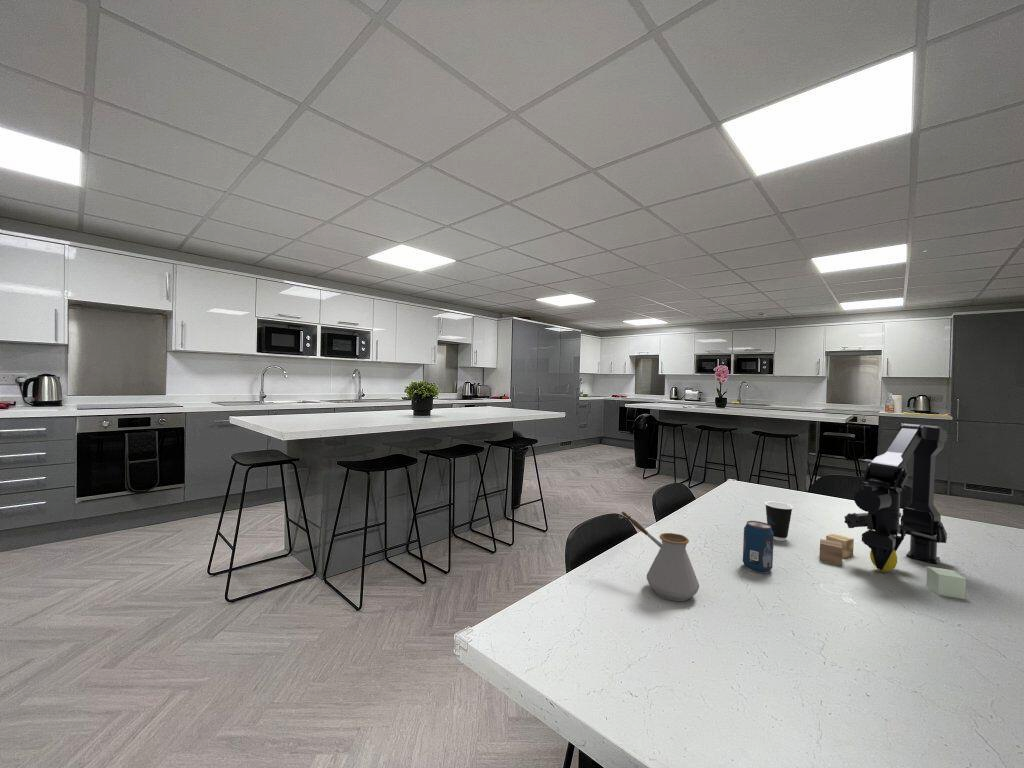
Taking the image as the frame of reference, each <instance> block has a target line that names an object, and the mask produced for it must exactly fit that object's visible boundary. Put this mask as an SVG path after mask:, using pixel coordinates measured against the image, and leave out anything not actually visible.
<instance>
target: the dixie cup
mask: <svg viewBox="0 0 1024 768" xmlns="http://www.w3.org/2000/svg"><path fill="white" fill-rule="evenodd" d="M764 505H765V514H766V516H765V517H766V523H767V524H769V525H771V529H772V531H773V533H774V539H773V541H774V540H776V541H780V542H785V541H787V538H788V536H789V531H790V530H789V529H790V524H791V523H790V522H791V517H792V512H793V508H794V506H792V504H788V503H785V502H779V501H772V500H771V501H765V502H764Z"/></svg>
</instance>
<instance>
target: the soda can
mask: <svg viewBox="0 0 1024 768" xmlns="http://www.w3.org/2000/svg"><path fill="white" fill-rule="evenodd" d="M742 542H743V544H742V545H743V547H742V548H743V549H742V562H743V565H744V567H745V568H746V569H747V570H750V571H752V572H755V573H758V574H768V573H770V572H771V570H772V569H773V565H774V563H773V562H774V533H773V531H772V529H771V525H769V524H767V522H763V521H757V520H747V521H746V524H745V526H744V527H743V541H742Z"/></svg>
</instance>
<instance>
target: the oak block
mask: <svg viewBox="0 0 1024 768" xmlns="http://www.w3.org/2000/svg"><path fill="white" fill-rule="evenodd" d="M825 540H829V541H834V542H839V543H842V558H845V559H846V558H848V557H849V558H850V557H852V556H854V546H855V545H854V541H855V538H852V537H849V536H845V535H842V534H838V533H830V534H827V535H825Z"/></svg>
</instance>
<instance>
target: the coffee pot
mask: <svg viewBox="0 0 1024 768" xmlns="http://www.w3.org/2000/svg"><path fill="white" fill-rule="evenodd" d="M621 515H622V516H621ZM620 516H621V517H620ZM618 517H620V519H622V518H624V517H625V518H626V520H627V521H630V523H631V524H632V525H633V526H634V527H635V528H636V529H638V530H639V531H640V532H641V533H643V534H644V535H645V536H647V537H648V538H649V539H650V540H651V541H652V542H654V543H655V544H656V546H658V547H659V548H660V549H659V550H658V552H657V554H656V556H655V557H654V560H653V562H652V564H651V566H650V567H649V570H648V571H647V573H646V580H647V582H648V584H649V586H650V587H651V589H653V590H654V592H655V594H657V595H658V596H660V597H662V598H663V599H666V600H670V601H674V602H685V601H688V600H689V599H690V598H692V597H693V596H695V595H696V594H697V593H698V591H699V588H700V584H699V581H698V578H697V575H696V572H695V570H694V568H693V565H692V562H691V560H690V558H689V554H688V551H687V550H686V548H687V544H689V543H690V539H688V537H686V536H685V535H682V534H678V533H672V532H664V533H661V534H660V535H659V539H660V540H661V542H660V541H659V540H658V539H657V538H655V537H654V536H653V535H652V534H650V532H649V531H648V530H646V529H645V528H644V527H643V526H642V525H641V524H640V523H639V522H638V521H636V520H635V519H634V518H632V516H631V515H628V514H627V513H626V512H625V511H621V512H620V513H619V515H618Z"/></svg>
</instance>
